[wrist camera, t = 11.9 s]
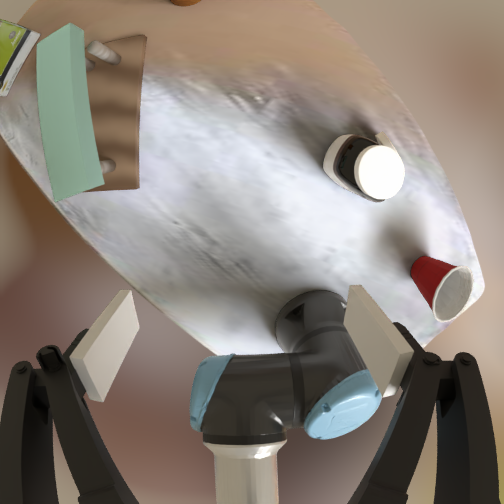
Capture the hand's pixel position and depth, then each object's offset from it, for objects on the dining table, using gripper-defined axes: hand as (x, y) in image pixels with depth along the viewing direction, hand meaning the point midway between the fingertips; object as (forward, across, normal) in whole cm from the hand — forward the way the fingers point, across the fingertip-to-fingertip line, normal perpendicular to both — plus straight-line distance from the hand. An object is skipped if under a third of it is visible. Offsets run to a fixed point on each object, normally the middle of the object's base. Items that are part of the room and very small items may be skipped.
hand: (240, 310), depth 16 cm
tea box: (+28, +48, -38) cm, 67 cm away
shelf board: (+19, +23, -18) cm, 34 cm away
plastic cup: (+30, -36, +11) cm, 48 cm away
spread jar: (+29, -19, -9) cm, 36 cm away
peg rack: (+28, +23, -18) cm, 41 cm away
